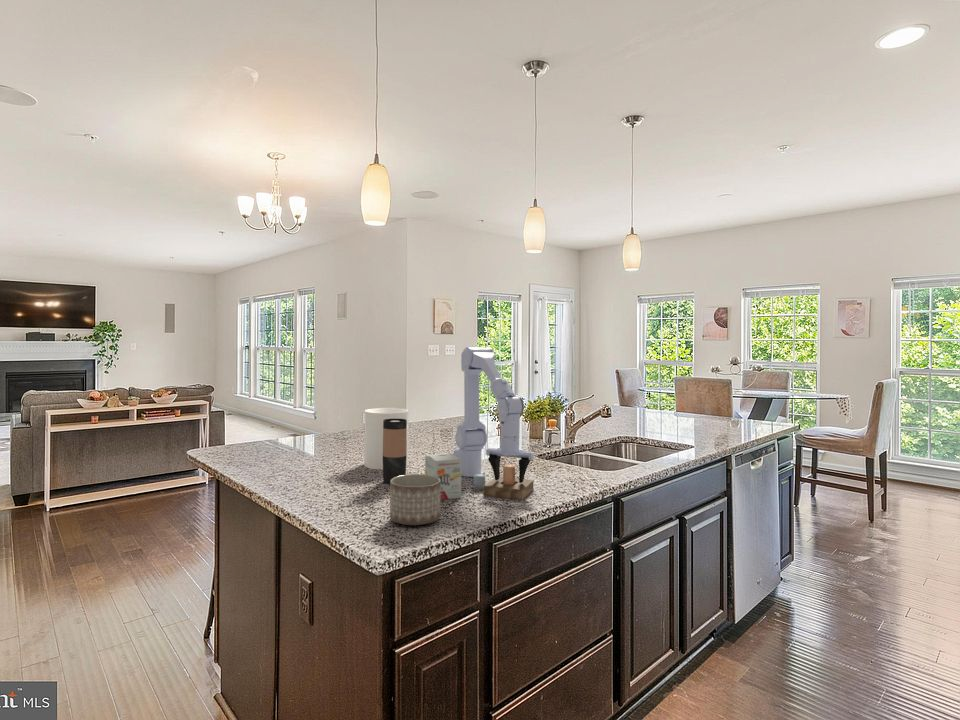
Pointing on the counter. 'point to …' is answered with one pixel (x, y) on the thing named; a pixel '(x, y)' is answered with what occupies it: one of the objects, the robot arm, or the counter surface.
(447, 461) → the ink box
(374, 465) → the canister
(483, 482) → the short peg
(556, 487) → the counter surface
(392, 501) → the planter
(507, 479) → the long peg
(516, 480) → the socket block
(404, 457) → the travel mug
